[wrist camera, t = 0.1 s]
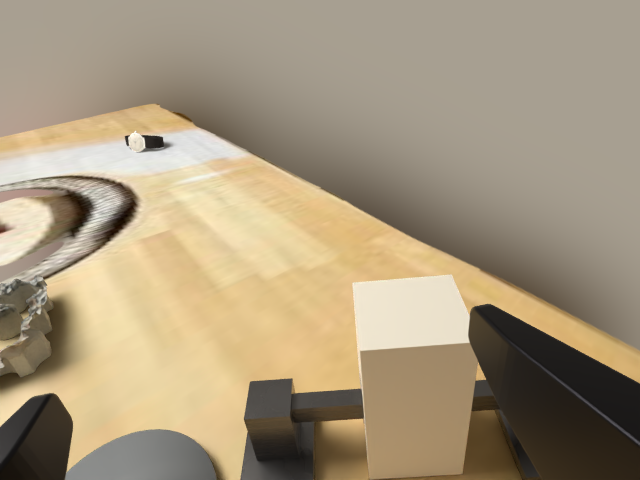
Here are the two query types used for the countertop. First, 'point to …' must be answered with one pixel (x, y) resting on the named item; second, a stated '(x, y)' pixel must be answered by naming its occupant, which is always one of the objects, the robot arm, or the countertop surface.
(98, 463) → the slate coaster
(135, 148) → the watch
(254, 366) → the countertop surface
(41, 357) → the egg carton
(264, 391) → the black stand
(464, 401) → the cream link
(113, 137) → the countertop surface
